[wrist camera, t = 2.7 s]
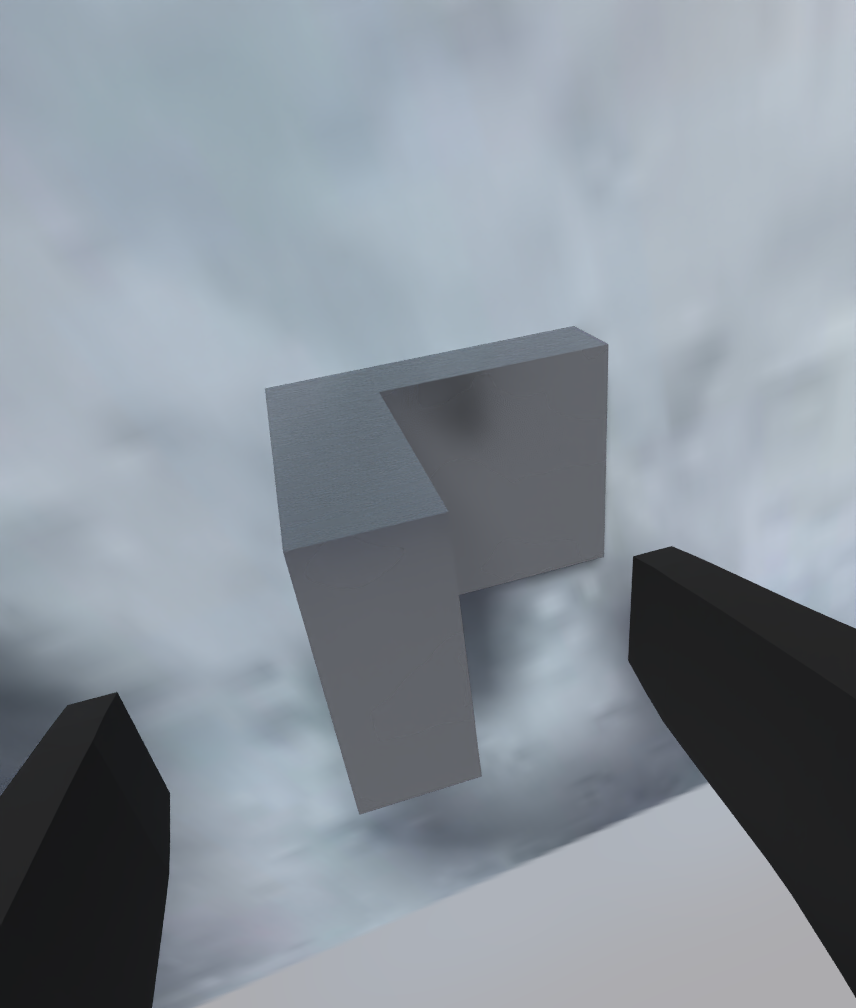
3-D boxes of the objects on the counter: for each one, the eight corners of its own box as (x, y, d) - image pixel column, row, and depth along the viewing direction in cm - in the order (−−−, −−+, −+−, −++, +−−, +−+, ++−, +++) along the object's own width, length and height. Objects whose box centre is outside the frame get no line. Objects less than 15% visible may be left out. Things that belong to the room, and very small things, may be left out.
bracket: (318, 589, 15) (359, 814, 10) (265, 388, 13) (283, 552, 7) (575, 524, 16) (730, 698, 11) (573, 325, 14) (774, 431, 8)
